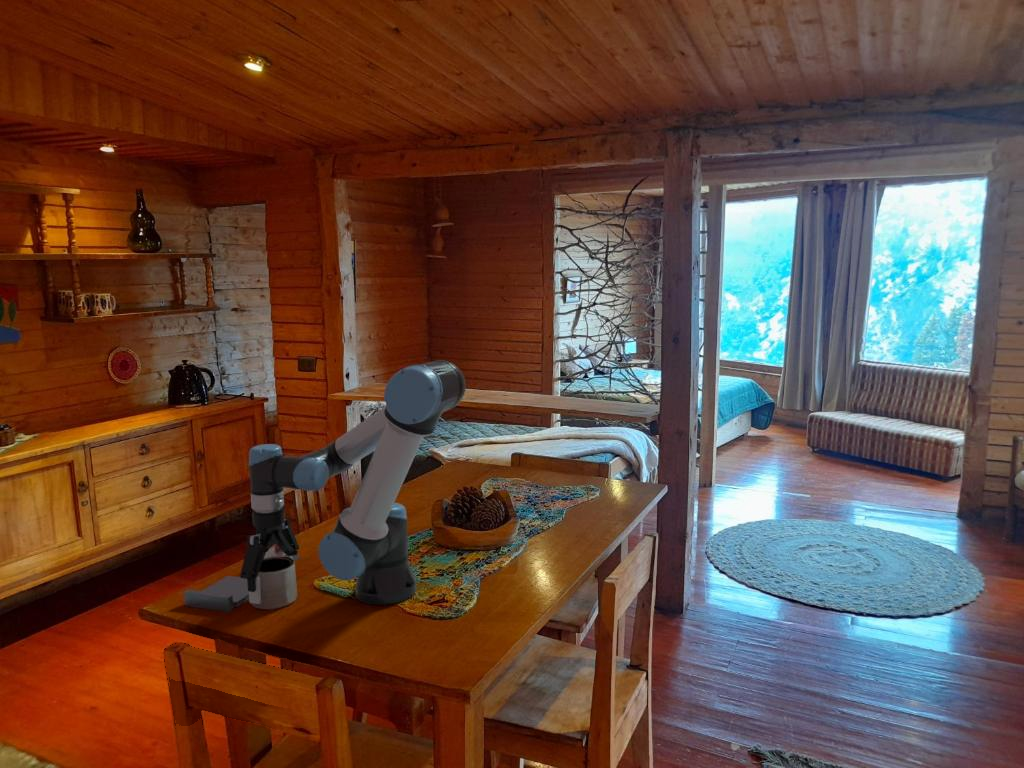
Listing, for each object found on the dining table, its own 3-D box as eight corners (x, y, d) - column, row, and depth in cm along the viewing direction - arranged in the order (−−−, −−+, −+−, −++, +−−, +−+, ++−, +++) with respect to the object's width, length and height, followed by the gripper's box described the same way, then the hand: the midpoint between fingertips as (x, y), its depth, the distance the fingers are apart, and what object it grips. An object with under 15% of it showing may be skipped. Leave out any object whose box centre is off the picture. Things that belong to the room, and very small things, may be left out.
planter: (254, 615, 173) (252, 576, 172) (248, 597, 183) (245, 561, 181) (301, 605, 178) (299, 567, 177) (292, 588, 187) (290, 553, 186)
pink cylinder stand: (273, 570, 197) (271, 539, 195) (254, 568, 198) (252, 537, 197) (292, 558, 205) (291, 528, 204) (274, 556, 207) (272, 526, 206)
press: (229, 611, 175) (228, 598, 174) (185, 605, 179) (183, 591, 178) (309, 559, 207) (309, 547, 206) (270, 554, 211) (270, 543, 210)
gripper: (248, 526, 164) (253, 615, 167) (310, 495, 187) (314, 573, 191) (220, 523, 166) (226, 611, 169) (285, 492, 190) (289, 570, 193)
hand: (272, 591), depth 180 cm, fingers open, 13 cm apart
